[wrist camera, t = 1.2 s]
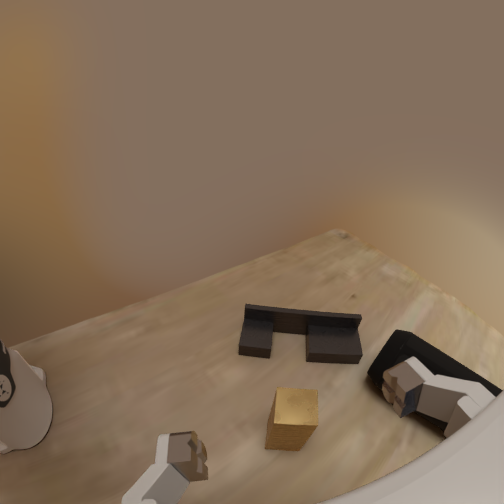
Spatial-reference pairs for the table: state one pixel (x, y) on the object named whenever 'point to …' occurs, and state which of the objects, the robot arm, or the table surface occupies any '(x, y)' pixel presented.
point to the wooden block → (292, 419)
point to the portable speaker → (432, 358)
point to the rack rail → (302, 322)
